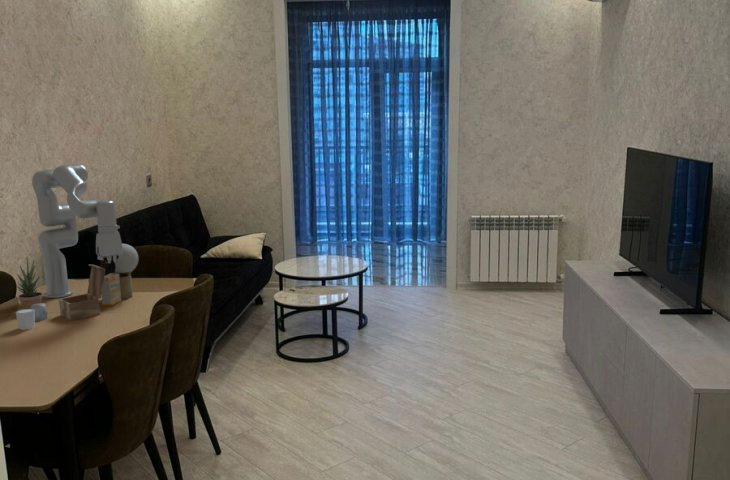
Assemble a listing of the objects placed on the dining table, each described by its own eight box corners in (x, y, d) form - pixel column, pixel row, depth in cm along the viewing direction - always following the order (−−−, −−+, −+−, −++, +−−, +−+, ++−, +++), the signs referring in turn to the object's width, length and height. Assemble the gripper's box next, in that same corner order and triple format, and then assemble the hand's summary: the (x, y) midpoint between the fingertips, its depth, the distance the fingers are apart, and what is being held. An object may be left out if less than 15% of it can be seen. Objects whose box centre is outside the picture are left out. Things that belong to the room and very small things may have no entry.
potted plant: (47, 310, 295) (41, 255, 290) (25, 315, 288) (18, 258, 283) (38, 306, 301) (32, 252, 297) (16, 311, 295) (9, 255, 290)
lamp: (141, 291, 323) (137, 240, 318) (141, 298, 310) (137, 245, 305) (107, 294, 318) (102, 242, 314) (106, 302, 305) (101, 248, 301)
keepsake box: (60, 315, 287) (58, 299, 285) (88, 309, 295) (87, 293, 294) (71, 320, 278) (69, 304, 277) (100, 314, 286) (98, 298, 285)
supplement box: (112, 306, 299) (109, 277, 296) (102, 305, 299) (99, 277, 297) (122, 301, 306) (119, 273, 304) (112, 300, 307) (109, 272, 305)
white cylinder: (40, 325, 272) (38, 309, 271) (27, 331, 266) (25, 313, 264) (27, 324, 274) (25, 308, 273) (13, 329, 268) (11, 312, 267)
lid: (88, 264, 293) (93, 264, 294) (84, 293, 293) (89, 293, 294) (100, 268, 284) (105, 268, 285) (95, 298, 284) (100, 298, 285)
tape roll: (30, 319, 282) (29, 305, 281) (44, 316, 286) (43, 302, 285) (35, 321, 278) (33, 307, 277) (49, 318, 282) (47, 304, 281)
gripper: (120, 226, 295) (124, 267, 298) (86, 231, 285) (91, 273, 288) (128, 228, 290) (132, 269, 293) (93, 232, 280) (98, 275, 283)
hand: (111, 271), depth 291 cm, fingers closed
